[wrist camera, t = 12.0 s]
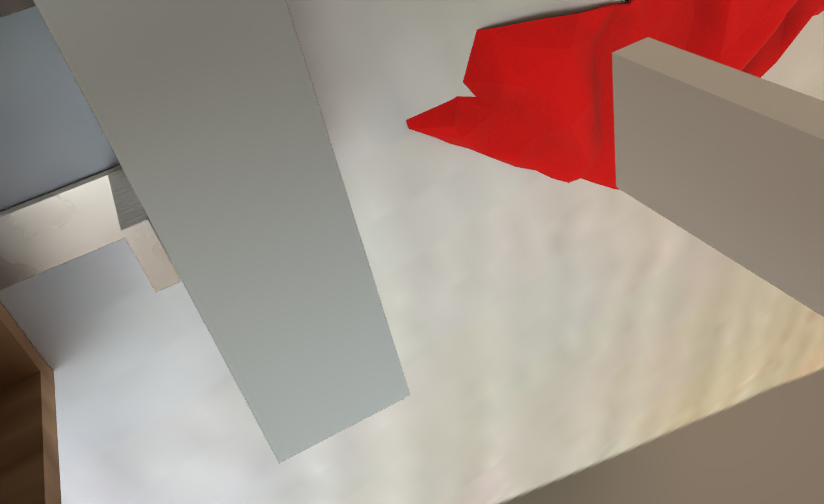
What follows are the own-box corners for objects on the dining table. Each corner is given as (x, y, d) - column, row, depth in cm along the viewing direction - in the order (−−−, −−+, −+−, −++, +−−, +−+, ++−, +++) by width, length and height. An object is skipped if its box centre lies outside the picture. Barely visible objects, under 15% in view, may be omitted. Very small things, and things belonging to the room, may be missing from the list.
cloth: (387, 237, 31) (408, 262, 30) (390, -110, 24) (418, -104, 22) (798, 150, 41) (833, 165, 39) (887, -116, 34) (934, -112, 32)
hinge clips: (-270, -58, 17) (-343, -25, 14) (188, -187, 20) (222, -187, 17) (-10, 287, 24) (-16, 367, 21) (306, 156, 27) (348, 207, 23)
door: (275, 193, 27) (410, 395, 17) (161, 241, 26) (241, 483, 16) (120, -209, 19) (213, -227, 10) (-52, -162, 18) (-130, -134, 9)
